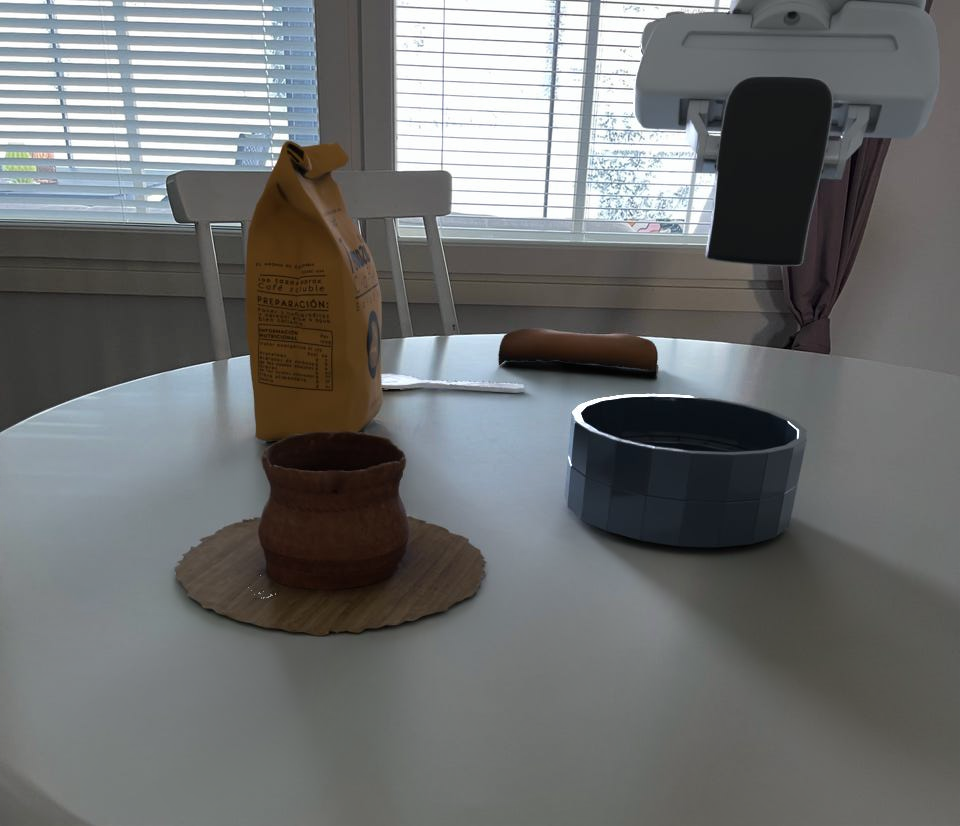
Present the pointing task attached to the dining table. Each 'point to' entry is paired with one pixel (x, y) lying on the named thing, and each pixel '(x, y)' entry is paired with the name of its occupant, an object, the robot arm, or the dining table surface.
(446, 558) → the ceramic pot
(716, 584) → the dining table surface
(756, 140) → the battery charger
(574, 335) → the sunglasses case
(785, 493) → the faceted round bowl
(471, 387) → the spoon
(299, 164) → the coffee package
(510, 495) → the dining table surface
